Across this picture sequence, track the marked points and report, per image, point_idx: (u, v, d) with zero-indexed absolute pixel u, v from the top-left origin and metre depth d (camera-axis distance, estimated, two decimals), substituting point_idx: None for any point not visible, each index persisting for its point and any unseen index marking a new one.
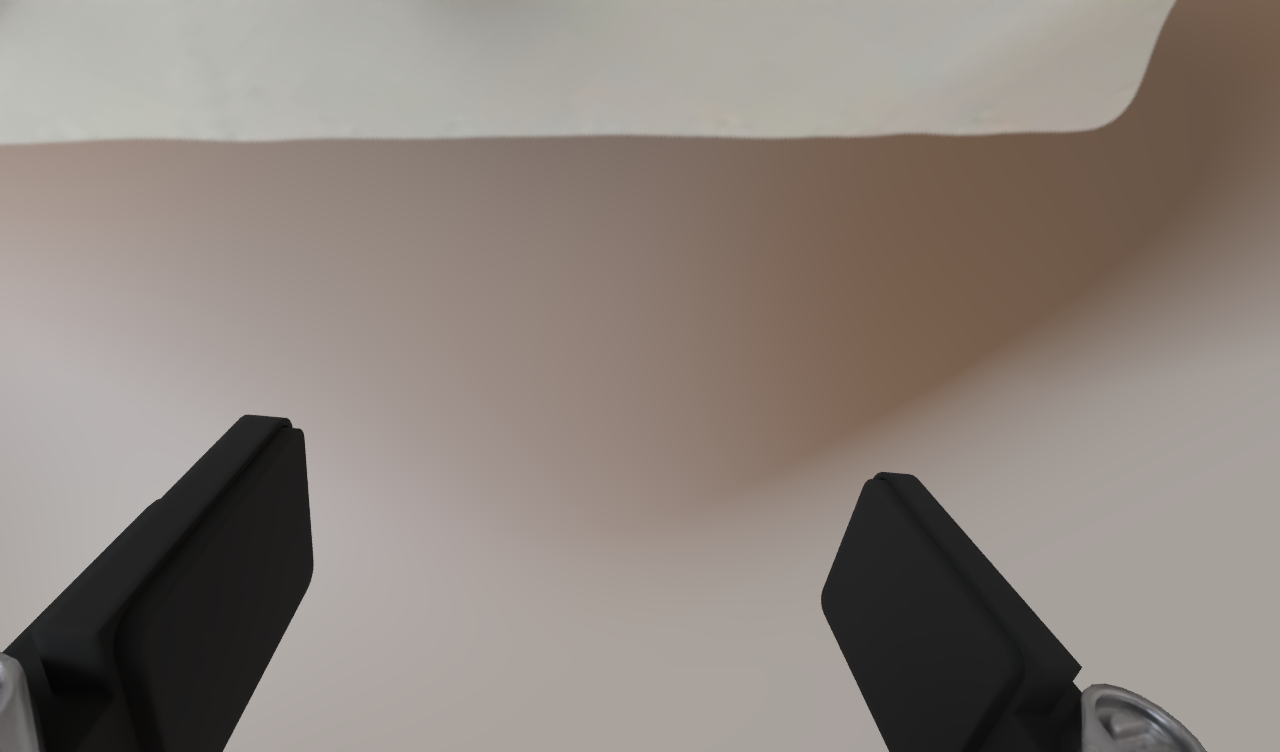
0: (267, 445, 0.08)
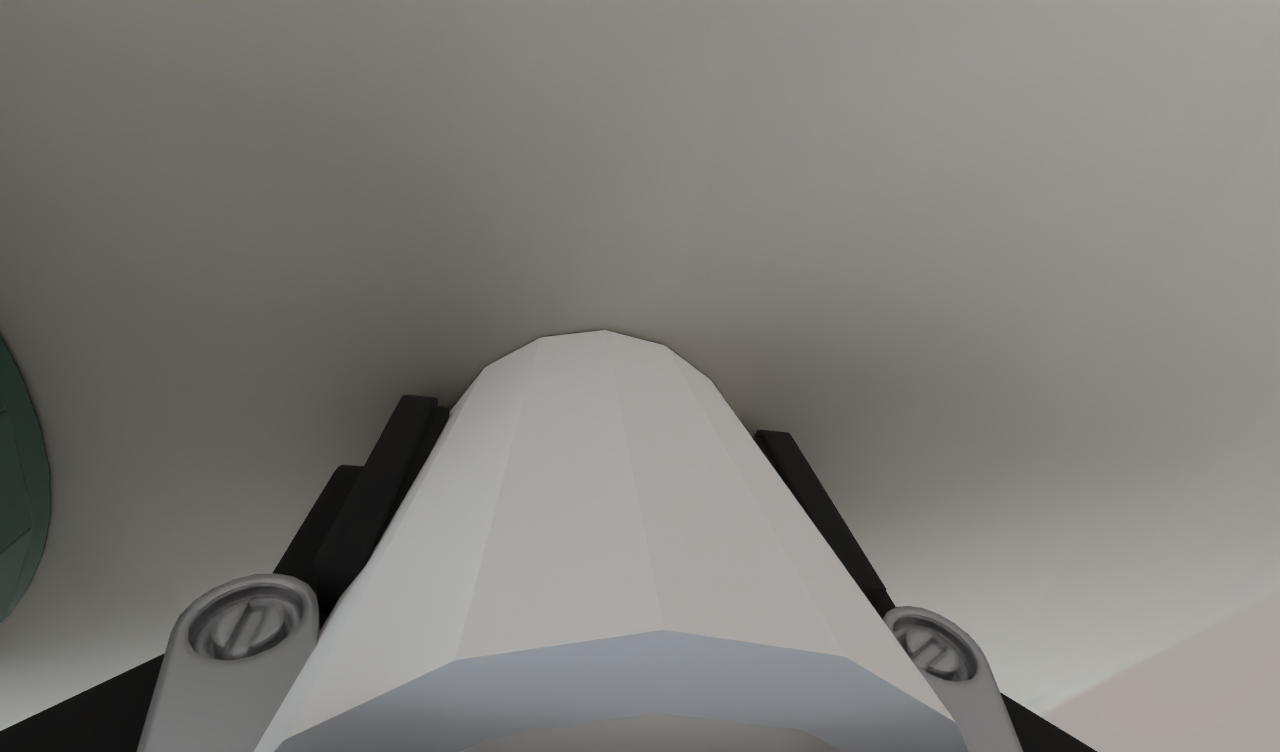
0: (430, 420, 0.09)
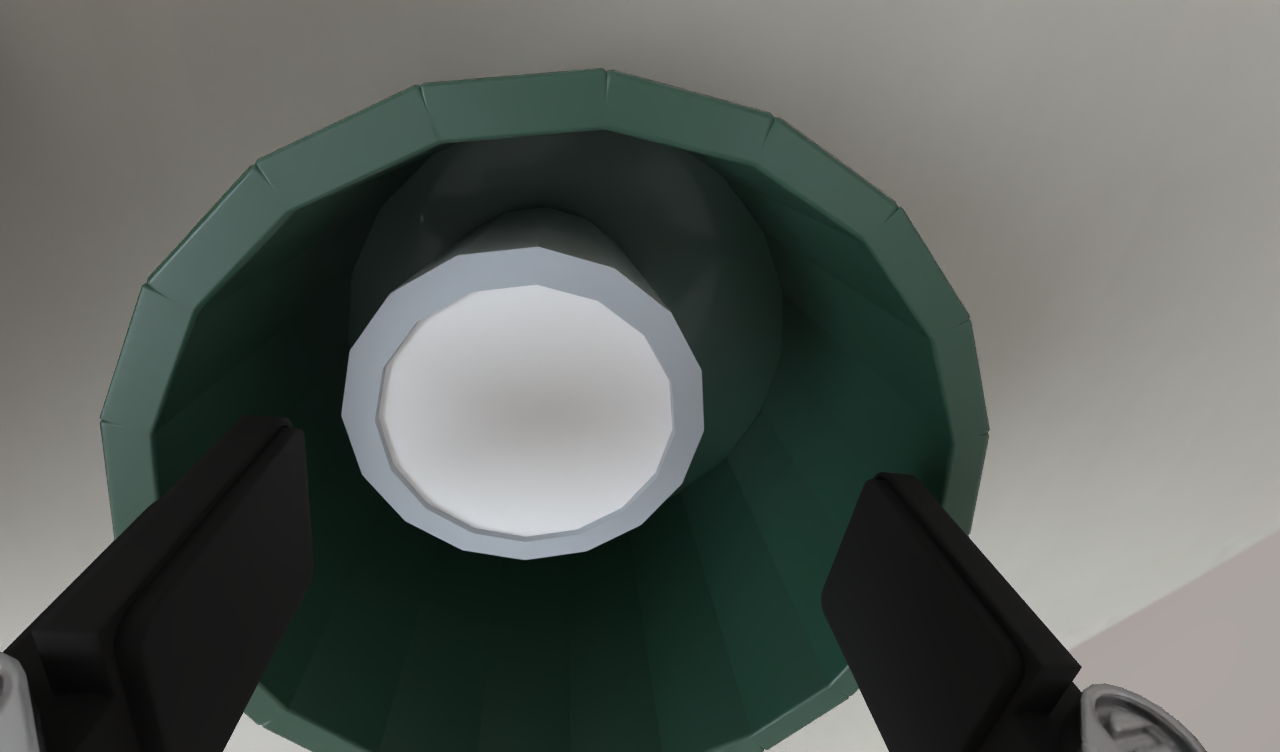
0: (267, 445, 0.08)
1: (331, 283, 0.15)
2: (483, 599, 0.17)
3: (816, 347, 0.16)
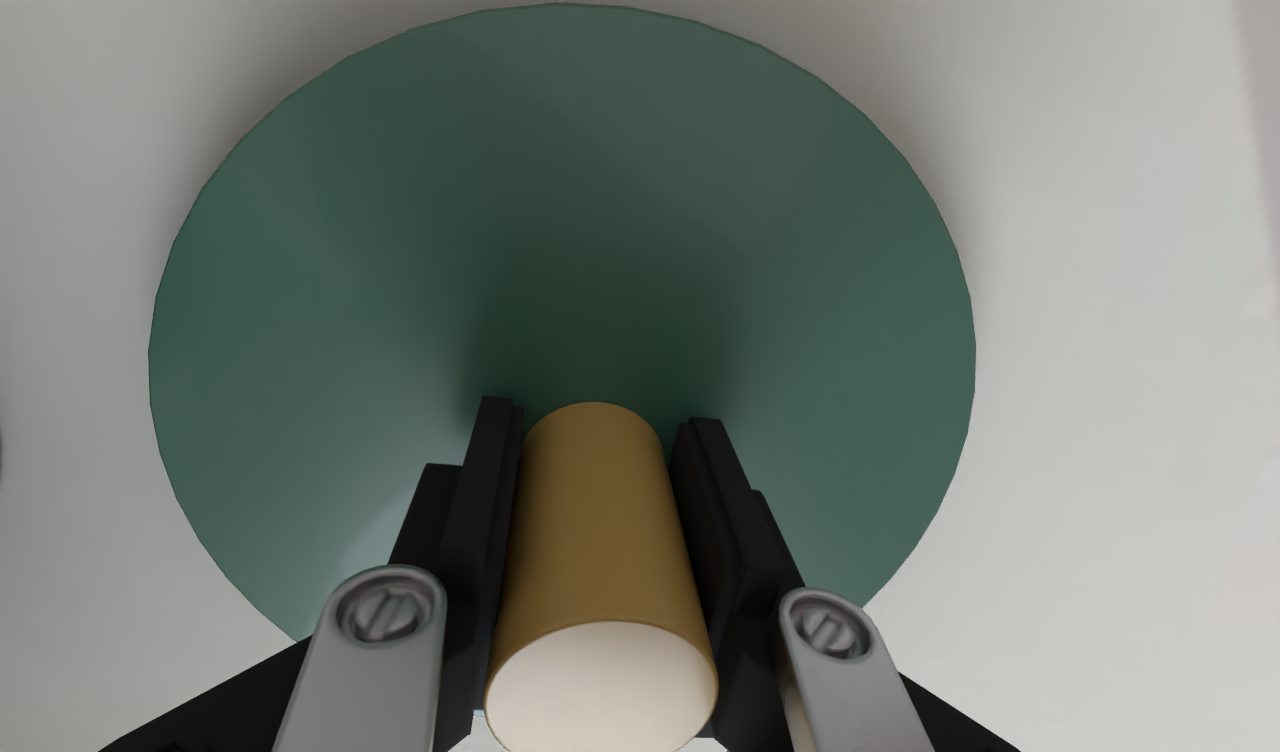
0: (511, 419, 0.10)
1: None
2: None
3: None
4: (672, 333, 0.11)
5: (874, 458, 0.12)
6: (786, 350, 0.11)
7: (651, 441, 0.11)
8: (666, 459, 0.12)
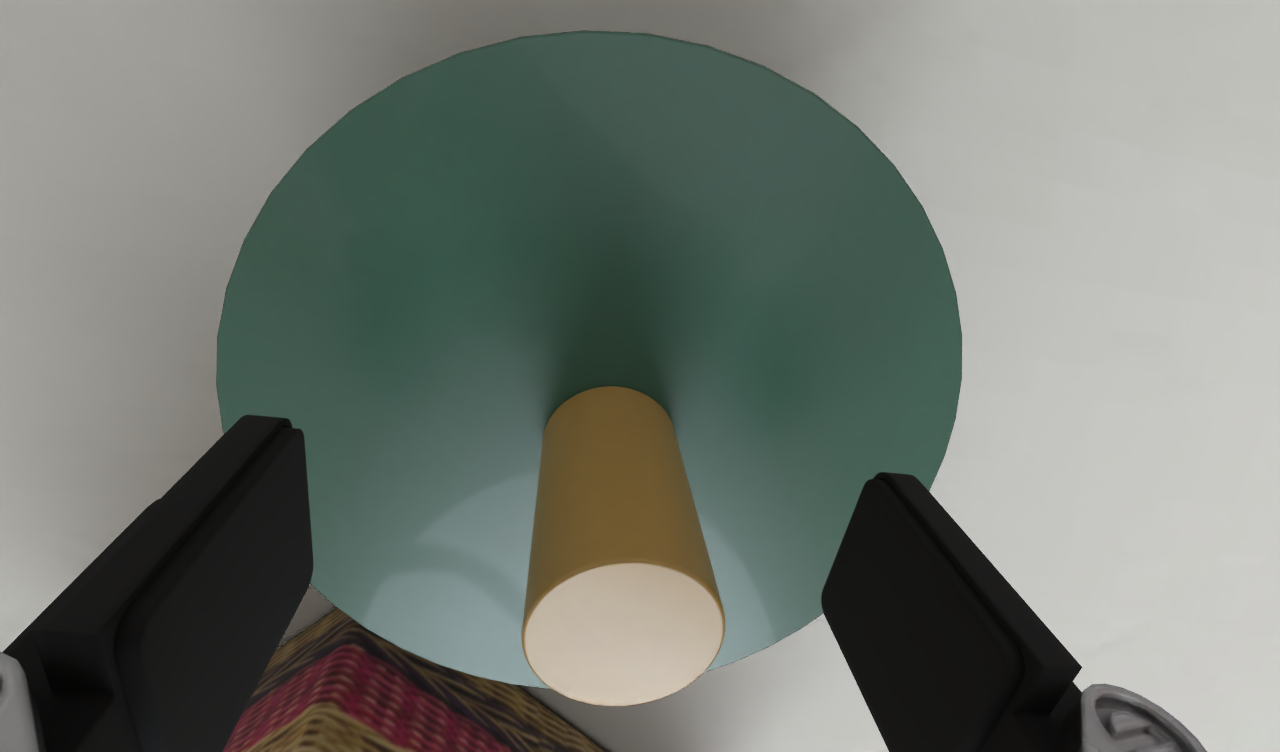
0: (267, 445, 0.08)
1: None
2: None
3: None
4: (684, 324, 0.12)
5: (869, 441, 0.13)
6: (787, 340, 0.12)
7: (664, 422, 0.12)
8: (677, 440, 0.13)
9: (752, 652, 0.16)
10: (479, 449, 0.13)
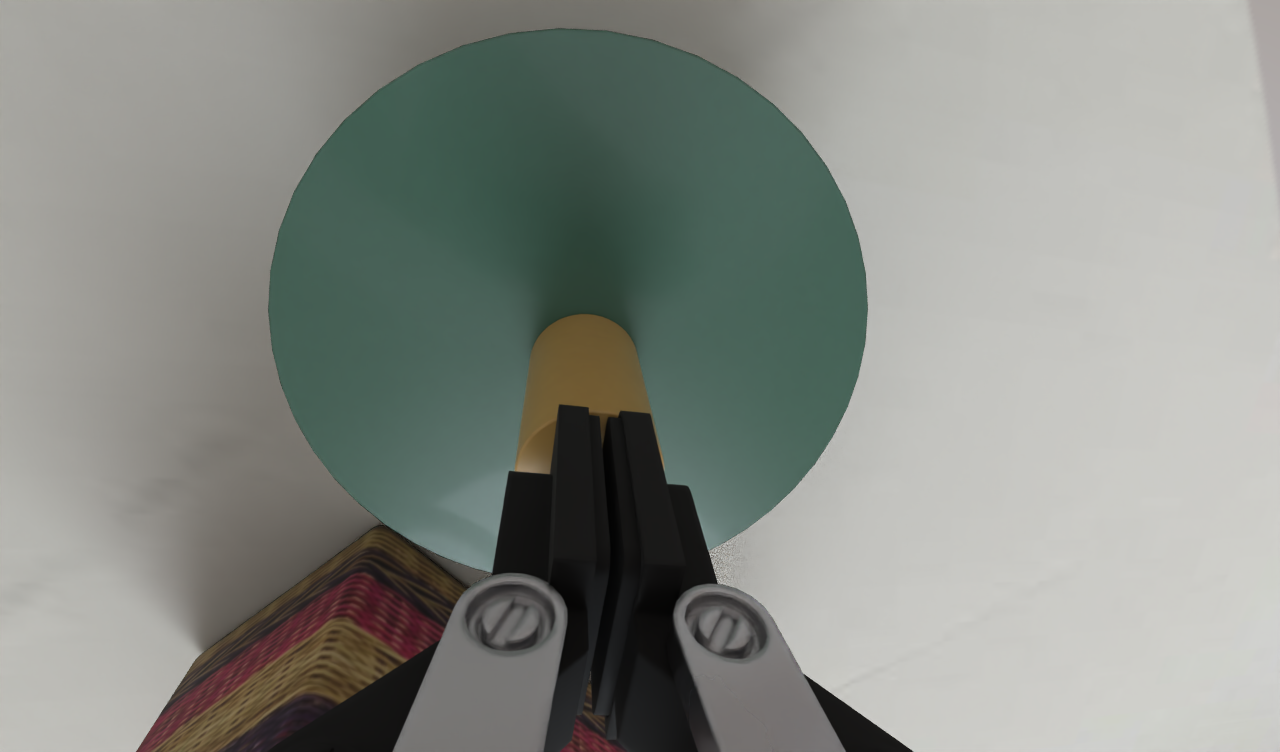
0: (591, 428, 0.10)
1: None
2: None
3: None
4: (642, 262, 0.15)
5: (795, 362, 0.16)
6: (725, 276, 0.15)
7: (627, 341, 0.15)
8: (639, 360, 0.16)
9: None
10: (479, 367, 0.15)
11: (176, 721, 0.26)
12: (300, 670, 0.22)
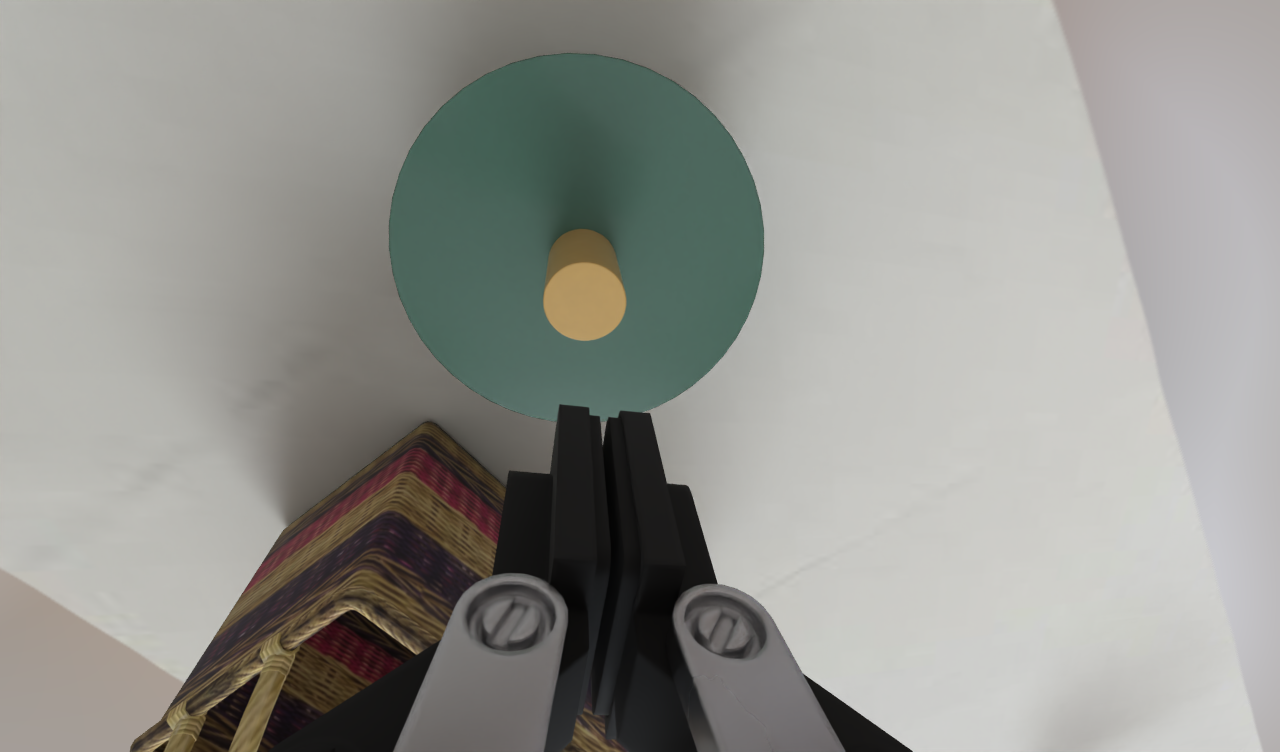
0: (591, 428, 0.10)
1: None
2: None
3: None
4: (618, 195, 0.24)
5: (719, 264, 0.25)
6: (671, 205, 0.24)
7: (609, 245, 0.24)
8: (618, 261, 0.25)
9: (666, 400, 0.28)
10: (516, 264, 0.25)
11: (280, 559, 0.35)
12: (381, 502, 0.31)
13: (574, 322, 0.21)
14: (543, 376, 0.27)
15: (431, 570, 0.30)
